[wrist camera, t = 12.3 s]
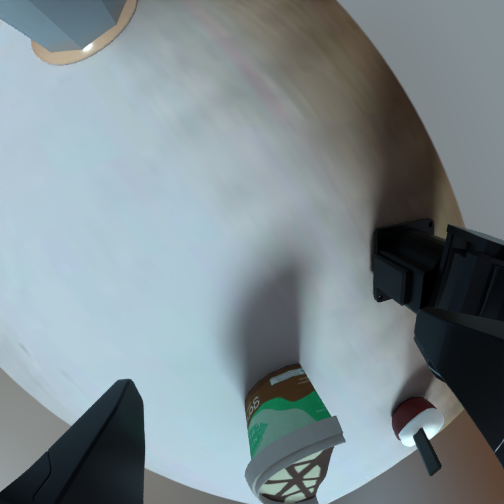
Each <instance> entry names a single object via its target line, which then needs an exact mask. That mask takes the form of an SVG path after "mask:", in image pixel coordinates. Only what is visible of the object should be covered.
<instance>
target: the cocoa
mask: <svg viewBox="0 0 504 504" xmlns="http://www.w3.org/2000/svg"><path fill="white" fill-rule="evenodd" d="M443 421H444V416H443V415H442V414H441V413H440V412H439V410H437V408H436V407H435V406H434V405H433V404H431V403H430V402H429V401H427V400H426V399H424V398H422V397H415V398H411V399H409V400H407V401H405V402H404V403H402V404H401V405H400V406H399V407H398V408H397V409H396V411H395V413H394V415H393V417H392V427H393V430H394V433H395V435H396V437H397V438H398V440H400V441H402V443H403V444H404V445H406V446H409V447H411V446H413V445H416V446H417V448H418V451H419V453H420V455H421V458H422V460H423V462H424V464H425V467H426V469H427V471H428V474H429V476H432V475H434V474H435V473H436V472H437V471H438V470H440V469H441V466H442V465H441V463H440V461H439V460H438V457H437V455H436V453H435V451H434V449H433V447H432V445H431V443H430V441H429V439H431V438H432V437H433V436H434V435H435V434H436V433H437V432H438V431H439V430H440V428H441V426H442V425H443Z"/></svg>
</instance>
